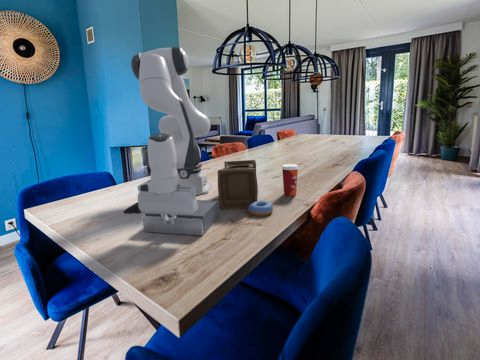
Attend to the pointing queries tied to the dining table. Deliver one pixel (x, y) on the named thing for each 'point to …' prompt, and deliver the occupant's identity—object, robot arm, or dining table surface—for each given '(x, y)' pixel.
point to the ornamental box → (237, 184)
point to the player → (199, 213)
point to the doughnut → (260, 208)
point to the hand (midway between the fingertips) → (170, 224)
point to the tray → (180, 227)
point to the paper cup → (290, 179)
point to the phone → (133, 209)
